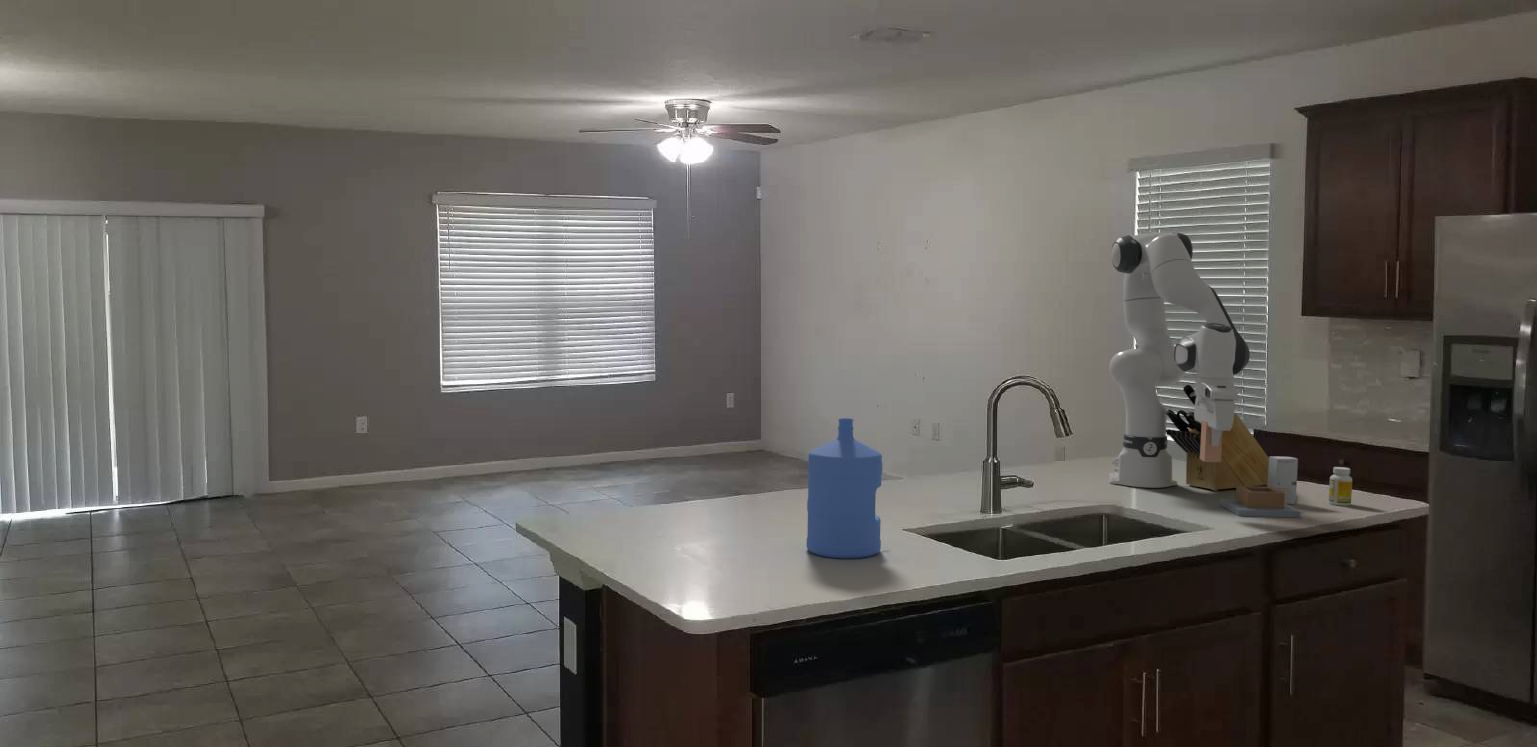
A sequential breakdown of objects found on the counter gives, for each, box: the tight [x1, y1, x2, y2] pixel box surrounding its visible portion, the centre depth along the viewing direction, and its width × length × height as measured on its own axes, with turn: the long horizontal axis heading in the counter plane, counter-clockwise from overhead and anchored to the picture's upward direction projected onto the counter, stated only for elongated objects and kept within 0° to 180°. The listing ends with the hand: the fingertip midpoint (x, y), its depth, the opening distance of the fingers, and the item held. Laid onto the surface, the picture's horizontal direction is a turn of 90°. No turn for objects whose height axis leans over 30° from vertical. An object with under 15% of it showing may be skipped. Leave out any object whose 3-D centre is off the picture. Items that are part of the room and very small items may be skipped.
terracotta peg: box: [1200, 420, 1223, 462], centre depth 296 cm, size 4×4×10 cm
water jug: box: [806, 417, 883, 560], centre depth 248 cm, size 16×16×28 cm
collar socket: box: [1219, 486, 1302, 519], centre depth 301 cm, size 15×15×6 cm
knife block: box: [1165, 384, 1269, 492], centre depth 335 cm, size 11×35×31 cm, turn 115°
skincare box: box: [1267, 455, 1299, 505], centre depth 312 cm, size 6×4×12 cm
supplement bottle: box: [1328, 466, 1353, 507], centre depth 312 cm, size 5×5×10 cm
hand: (1211, 444), depth 296 cm, fingers closed on terracotta peg, 4 cm apart
